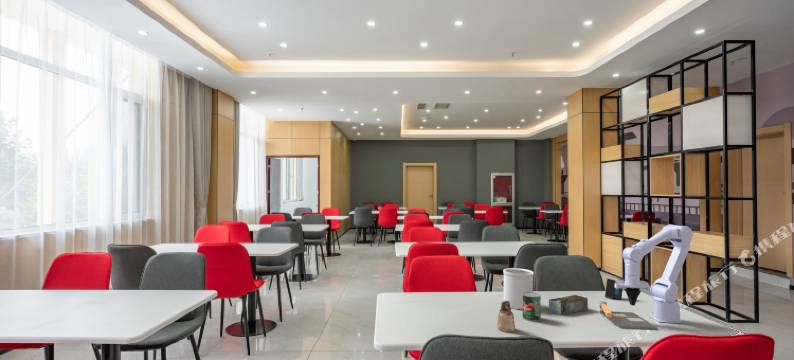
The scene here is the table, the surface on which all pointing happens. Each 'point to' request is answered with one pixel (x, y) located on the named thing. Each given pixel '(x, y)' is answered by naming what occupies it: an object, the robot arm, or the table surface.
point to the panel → (629, 320)
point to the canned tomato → (531, 306)
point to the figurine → (506, 318)
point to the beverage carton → (568, 304)
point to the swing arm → (605, 308)
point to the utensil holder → (517, 285)
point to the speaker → (613, 290)
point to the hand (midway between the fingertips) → (632, 304)
